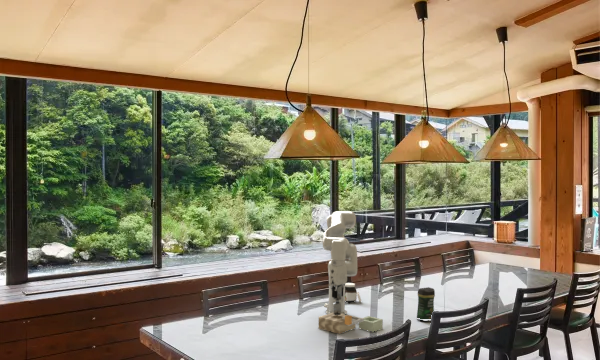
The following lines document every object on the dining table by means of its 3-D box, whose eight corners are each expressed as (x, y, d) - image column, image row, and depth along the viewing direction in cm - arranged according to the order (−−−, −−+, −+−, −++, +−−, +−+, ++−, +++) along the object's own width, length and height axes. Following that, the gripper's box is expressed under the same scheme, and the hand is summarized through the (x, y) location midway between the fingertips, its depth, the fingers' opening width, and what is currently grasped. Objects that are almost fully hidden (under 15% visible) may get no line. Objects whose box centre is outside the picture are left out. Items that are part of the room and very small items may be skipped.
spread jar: (340, 300, 322) (341, 282, 322) (356, 299, 326) (356, 281, 326) (348, 304, 311) (349, 286, 311) (364, 303, 315) (364, 285, 315)
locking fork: (332, 322, 247) (332, 313, 247) (349, 317, 257) (349, 308, 257) (348, 326, 240) (348, 317, 240) (364, 321, 251) (364, 311, 251)
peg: (331, 314, 259) (331, 284, 259) (336, 312, 263) (337, 282, 263) (337, 315, 256) (338, 285, 256) (342, 314, 260) (343, 284, 260)
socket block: (318, 328, 258) (318, 316, 258) (334, 322, 269) (334, 312, 269) (339, 334, 249) (339, 322, 249) (355, 328, 259) (355, 317, 259)
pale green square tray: (358, 328, 259) (359, 319, 259) (368, 325, 266) (368, 316, 266) (373, 332, 253) (373, 322, 253) (382, 328, 260) (382, 319, 260)
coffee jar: (424, 323, 272) (425, 289, 272) (414, 319, 278) (415, 287, 279) (436, 320, 277) (437, 288, 277) (426, 317, 283) (427, 285, 284)
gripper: (333, 265, 250) (333, 301, 251) (353, 261, 263) (352, 295, 263) (322, 263, 255) (322, 298, 256) (342, 259, 268) (341, 292, 268)
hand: (337, 296), depth 259 cm, fingers closed on peg, 4 cm apart
